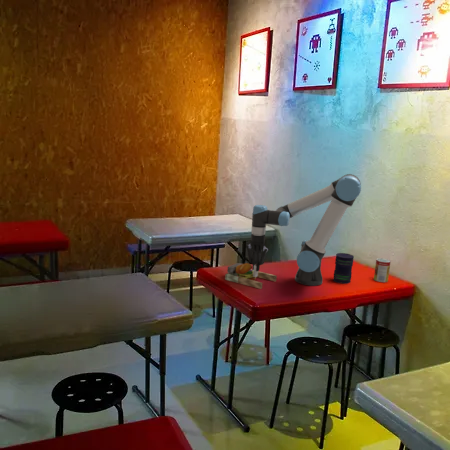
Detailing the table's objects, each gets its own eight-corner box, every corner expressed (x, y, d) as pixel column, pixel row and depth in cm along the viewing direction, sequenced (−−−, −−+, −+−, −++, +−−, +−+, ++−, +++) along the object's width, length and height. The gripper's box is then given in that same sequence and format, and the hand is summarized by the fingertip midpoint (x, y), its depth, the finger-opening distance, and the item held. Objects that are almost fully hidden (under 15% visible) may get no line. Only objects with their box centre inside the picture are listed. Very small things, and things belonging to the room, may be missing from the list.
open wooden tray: (276, 280, 273) (277, 270, 272) (260, 288, 258) (261, 277, 257) (240, 271, 285) (241, 261, 284) (223, 279, 270) (224, 268, 269)
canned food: (386, 278, 291) (388, 258, 288) (389, 282, 283) (392, 262, 281) (372, 277, 291) (375, 257, 289) (375, 281, 284) (377, 261, 281)
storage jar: (346, 284, 274) (349, 258, 271) (330, 280, 280) (333, 255, 277) (353, 281, 282) (356, 255, 279) (337, 276, 288) (340, 252, 285)
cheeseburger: (258, 282, 268) (255, 264, 266) (239, 286, 268) (235, 269, 265) (254, 275, 278) (251, 259, 276) (236, 279, 277) (233, 263, 275)
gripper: (272, 235, 264) (269, 277, 269) (251, 231, 271) (248, 272, 276) (265, 237, 258) (262, 280, 263) (244, 233, 265) (241, 275, 269)
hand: (255, 276), depth 269 cm, fingers closed
